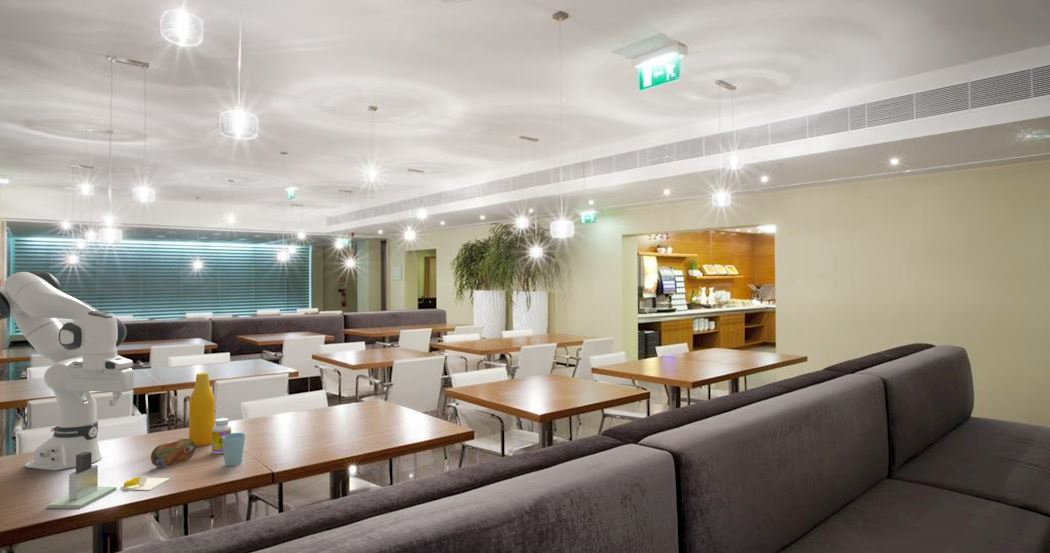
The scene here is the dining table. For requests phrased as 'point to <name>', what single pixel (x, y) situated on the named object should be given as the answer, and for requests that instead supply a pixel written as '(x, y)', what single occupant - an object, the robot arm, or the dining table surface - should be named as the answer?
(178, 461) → the tin
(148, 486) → the face down mat
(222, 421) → the supplement bottle
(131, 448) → the dining table surface
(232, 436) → the cup
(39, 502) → the dining table surface
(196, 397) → the yellow bottle
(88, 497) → the plate
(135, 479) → the yellow ring
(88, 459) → the grey upright panel
